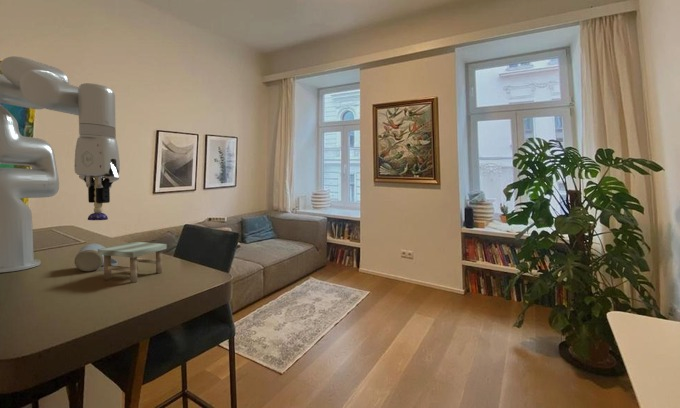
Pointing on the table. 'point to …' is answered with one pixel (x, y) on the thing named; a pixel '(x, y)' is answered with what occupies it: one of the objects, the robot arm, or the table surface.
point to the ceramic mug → (91, 258)
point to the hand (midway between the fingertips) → (99, 202)
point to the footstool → (132, 257)
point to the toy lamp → (97, 207)
